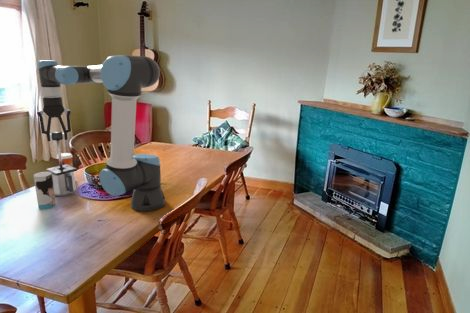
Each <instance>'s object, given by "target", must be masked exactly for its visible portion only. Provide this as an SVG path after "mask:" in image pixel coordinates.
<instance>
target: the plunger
mask: <svg viewBox="0 0 470 313" xmlns="http://www.w3.org/2000/svg"><path fill="white" fill-rule="evenodd" d="M62 133H63V131H53V132H51V133H50V134H52V140H53V141H56V147H57V155H58V157H59V165H60V170H62V169H63V165H62V158H61V153H62V152H61V151H62V150H61V140H62V141H63V135H62Z"/></svg>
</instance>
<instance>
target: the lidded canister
mask: <svg viewBox="0 0 470 313" xmlns="http://www.w3.org/2000/svg"><path fill="white" fill-rule="evenodd" d="M76 171H78V169H77V168H76V167H74V166H73V167H72V166H70V165H67V164H66V165H63V169H62V170H60V166H58V165H57V166H53V167H49V168H46V169H45V172H51V173H52V178H53V186H54V193H55V198H62V197H63V198H65V197H70V196H73V195H74V194H76V193H77V188H76V182H75V172H76Z"/></svg>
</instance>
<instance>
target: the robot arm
mask: <svg viewBox="0 0 470 313" xmlns="http://www.w3.org/2000/svg"><path fill="white" fill-rule="evenodd" d="M37 63H38V64H37V65H38V68H37V70H38V76H39V82H40V86H41V87H40V90H41V96H42V103H43V109H41V110H38V111H37V112H36V114H37V116H38V118H39V125H40V128H41V129H40V130H41V133H42V134H45V135H46V139H47V142H50V147H51V149H54V142H53V141H54V140H52V134H51V133H50V132H51V126H52V125H51V124H52V119H53V118H57V119H58V121H59V123H60V126H61V129H62V135H63V139H62V141H63V148H67V146H66V141H67V140H68V133H69V132H71V131H72V128H71V109H66V108H65V106H64V103H63V97H62V88H61V85H64V86H68V85H69V86H71V85H74V84H75V85H76V84H101V83H102V84H103V87H104V88H106V89H107V93H108V95H109V96H110V97H111V121H110V125H111V126H110V128H111V129H110V157H108V158H107V159H106V162H105V164H106V165H105V168H102V169H101V170H100V172H99V173H98V174H99V175H98V176H99V177H98V178H99V183H100V185H101V187H102V188H103V190H104V191H105V192H106V193H107V194H108V195H110V196H112V197H113V196H114V197H117V196H120V195H125V194H126V193H129V192H131V191H132V195H131V196H132V197H131V199H130V208H132V209H133V210H134V211H138V212H152V211H153V212H154V211H157V210H160V209H162V208H163V207H164V206H166V197H165V194H164V192H163V189H162V182H161V181H162V179H161V178H162V177H161V160H160V157H159V156H158V155H155V154H150V153H136V154H134V153H135V135H136V116H137V100H138V99H139V98H140V97H142V89H143V88H150V87H152V86H154V85H155V84H156V83H158V81H159V79H160V75H161V71H160V70H161V69H160V67H159V64H158V63H157V62H156V61H155V59H153V58H151V57H149V56H146V55H126V54H118V55H110V56H107V58H106V59H105V60H103V63H102V64H97V65H59V64H58V61H57V60H50V59H49V60H48V59H47V60H43V59H41V60H38V62H37ZM63 113H64V114H65V115H66V123H67V125H66V126H67V128H66V126H65V123H64V120H63V117H62V115H63ZM44 114H46V116H47V117H48V118H47V126H46V127H47V128H46V129H45V125H44V117H43V115H44Z"/></svg>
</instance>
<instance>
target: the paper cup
mask: <svg viewBox="0 0 470 313" xmlns="http://www.w3.org/2000/svg"><path fill="white" fill-rule="evenodd" d="M61 158H62V165H66V164H67V165H70V166H72V167H74V166H73V154H72V153H71V152H63V153H62V152H61ZM56 159H57V166H60V165H59V157H58V154H57V155H56Z"/></svg>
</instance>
